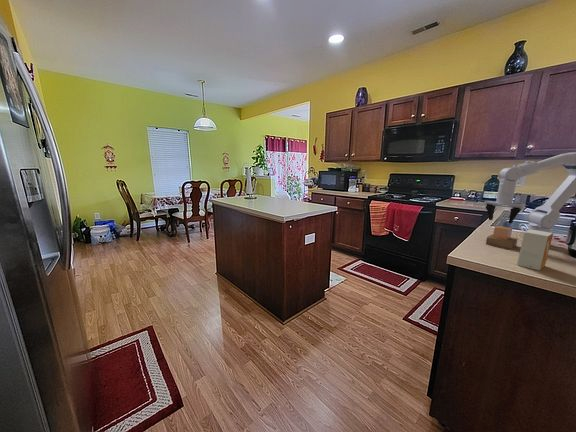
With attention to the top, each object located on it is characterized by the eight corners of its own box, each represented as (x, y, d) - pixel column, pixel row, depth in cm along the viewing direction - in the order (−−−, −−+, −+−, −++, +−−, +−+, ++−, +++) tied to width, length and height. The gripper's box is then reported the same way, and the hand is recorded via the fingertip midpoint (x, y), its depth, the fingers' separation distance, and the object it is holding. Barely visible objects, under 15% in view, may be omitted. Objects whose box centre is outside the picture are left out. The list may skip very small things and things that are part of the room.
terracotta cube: (496, 235, 115) (498, 225, 114) (510, 238, 111) (512, 227, 110) (492, 237, 113) (494, 226, 112) (506, 239, 109) (508, 229, 108)
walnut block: (491, 241, 119) (493, 234, 118) (516, 246, 112) (517, 238, 111) (485, 245, 114) (487, 237, 113) (510, 250, 107) (512, 242, 106)
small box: (540, 271, 85) (548, 236, 82) (516, 265, 90) (523, 232, 87) (545, 266, 89) (553, 232, 86) (522, 260, 94) (529, 228, 91)
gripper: (483, 192, 116) (478, 219, 119) (523, 195, 104) (516, 225, 107) (489, 191, 120) (485, 217, 123) (528, 194, 107) (522, 223, 110)
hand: (500, 221), depth 115 cm, fingers open, 7 cm apart
